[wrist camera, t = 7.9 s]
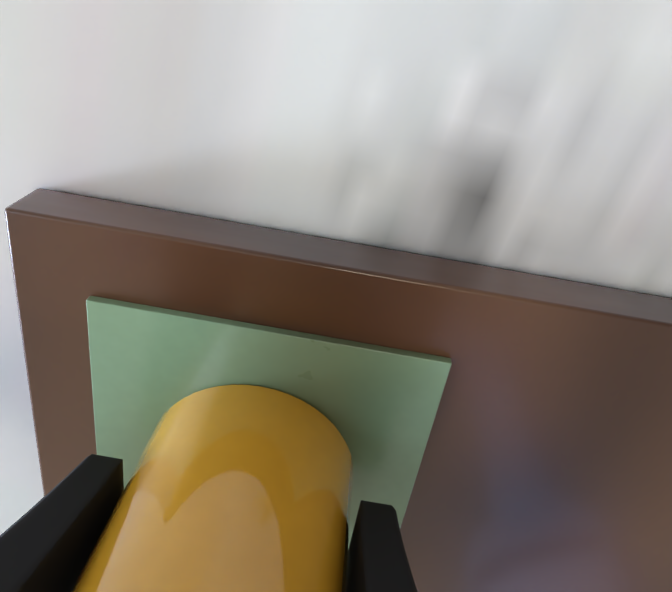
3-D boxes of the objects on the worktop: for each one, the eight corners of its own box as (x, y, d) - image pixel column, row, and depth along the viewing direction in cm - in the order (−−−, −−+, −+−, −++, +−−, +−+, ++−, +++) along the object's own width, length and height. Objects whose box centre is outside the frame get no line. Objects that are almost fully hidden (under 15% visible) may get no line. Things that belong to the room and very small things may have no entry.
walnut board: (1135, 378, 11) (1224, 425, 10) (723, 769, 20) (745, 821, 19) (38, 186, 11) (-5, 211, 10) (88, 661, 20) (68, 707, 18)
